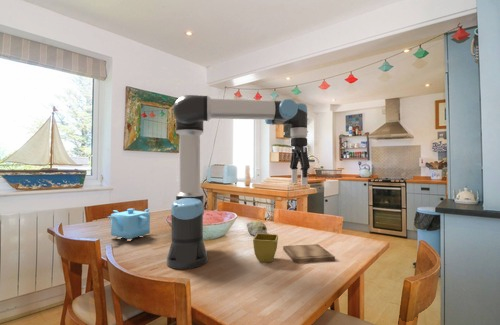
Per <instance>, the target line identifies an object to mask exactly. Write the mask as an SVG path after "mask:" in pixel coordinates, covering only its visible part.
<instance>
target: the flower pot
mask: <svg viewBox="0 0 500 325" xmlns="http://www.w3.org/2000/svg"><path fill="white" fill-rule="evenodd" d="M278 240H279V235H278V234H273V233H272V234H271V233H267V234H256V236H254V237H253V239H252V241H253V242H252V243H253V250H254V255H255V258H256V259H257V261H258V262H260V263H262V262H264V263H265V262H266V263H272V262H273V261H274V258H275V256H276V255H275V254H276V252H277V249H278Z"/></svg>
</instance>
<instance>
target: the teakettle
mask: <svg viewBox="0 0 500 325" xmlns="http://www.w3.org/2000/svg"><path fill="white" fill-rule="evenodd" d="M150 210H151V208H147V209H144V211H141V210H135V208H127V210H125V211H120V212H119V211H118V210H115V209H114V210H112V211H113V213H111V214H110V215H109V216H107V218H109V219H110V220H111V221H110V226H111V227H110V235H111V236H113V237H116V238H118V237H122V238H123V239H134V238H138V236H144V237H145V235H147V234H148V235H149V234H150V233H151V232H150V230H151V221H150V220H151V216H150V214H151V213H150V212H149V211H150Z"/></svg>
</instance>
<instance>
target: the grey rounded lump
mask: <svg viewBox="0 0 500 325" xmlns="http://www.w3.org/2000/svg"><path fill="white" fill-rule="evenodd" d="M246 228H247V232H248V233H249V234H250V235H252V236H254V237H255V236H256V234H268V231H267V230H268V228H267V225H266V224H265V223H264V222H263V221H262V220H261V221H260V220H256V221H255V220H253V221H252V220H251V221H249V222H248V221H247V223H246Z"/></svg>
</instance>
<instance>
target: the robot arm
mask: <svg viewBox="0 0 500 325" xmlns="http://www.w3.org/2000/svg"><path fill="white" fill-rule="evenodd" d="M172 112H173V115H174V117H175V132H176V133H177V135H178V136H179V192H177V193H176V195H175V200H174V201H173V202H172V203H171V209H170V213H171V243H170V246H169V250H168V253H167V256H166V266H168V267H169V268H172V269H176V270H186V269H194V268H199V267H201V266H203V265H205V264H206V263H207V262H208V252H207V248H206V245H205V243H204V238H203V237H204V215H205V207H204V203H205V202H204V193H203V191H201V135H202V134H203V133H204V122H209V120H212V119H221V120H222V119H225V120H226V119H227V120H228V119H229V120H232V119H233V120H234V119H235V120H264V123H266V125H271V126H273V125H281V126H282V125H286V126H287V125H288V126H289V125H290V147H293V148H292V149H291V157H290V162H289V163H290V164H289V168H290V170H291V184H296V183H297V184H298V170H299V169H300V186H308V184H309V183H308V180H309V179H308V174H309V172H308V171H309V169H310V167H311V165H310V161H309V155H308V148H307V147H308V138H307V137H308V133H309V130H308V106H307V104H306V103H301V102H298V103H297V102H296V101H294V99H290V98H287V99H283V100H257V99H256V100H255V99H249V100H248V99H232V98H231V99H230V98H229V99H228V98H211V97H210V96H209V95H198V94H194V95H193V94H188V95H187V94H185V95H181V96H180V97H179V98H178V99H176V100H175V102H174V104H173V108H172ZM298 164H300V166H301V168H299V167H298Z"/></svg>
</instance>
